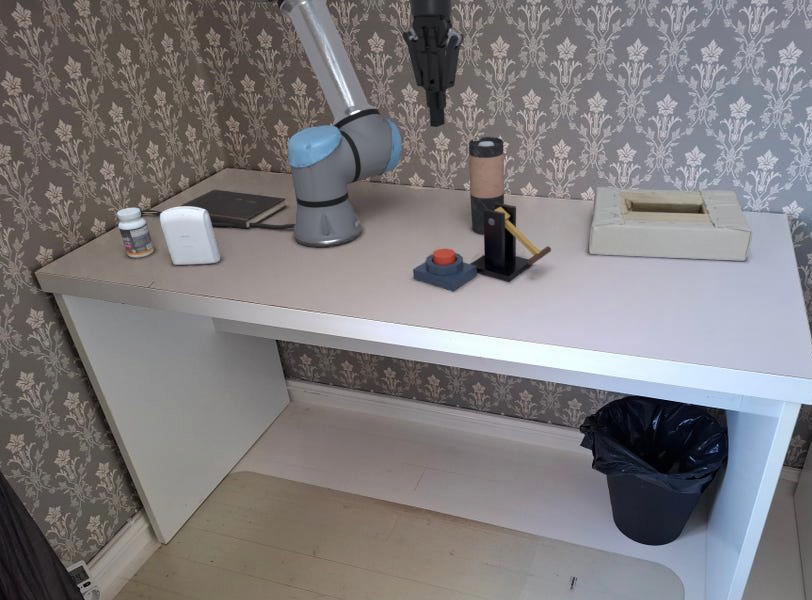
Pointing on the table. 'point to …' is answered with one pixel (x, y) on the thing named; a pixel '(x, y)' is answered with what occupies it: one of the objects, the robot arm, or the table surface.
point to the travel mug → (485, 178)
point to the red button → (444, 256)
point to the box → (669, 224)
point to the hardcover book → (237, 207)
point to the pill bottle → (134, 233)
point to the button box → (445, 273)
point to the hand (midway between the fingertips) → (437, 124)
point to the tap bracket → (500, 246)
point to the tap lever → (524, 239)
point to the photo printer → (189, 235)
